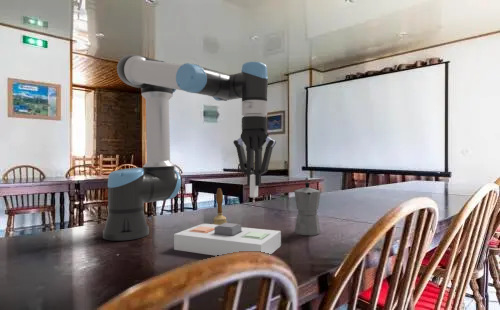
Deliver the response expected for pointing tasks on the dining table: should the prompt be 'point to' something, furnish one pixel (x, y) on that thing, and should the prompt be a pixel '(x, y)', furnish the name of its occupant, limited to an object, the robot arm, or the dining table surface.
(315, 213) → the coffeepot
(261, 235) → the sage key
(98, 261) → the dining table surface
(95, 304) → the dining table surface
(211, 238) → the white button panel
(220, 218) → the hand bell
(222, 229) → the charcoal key
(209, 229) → the terracotta key
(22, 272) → the dining table surface
